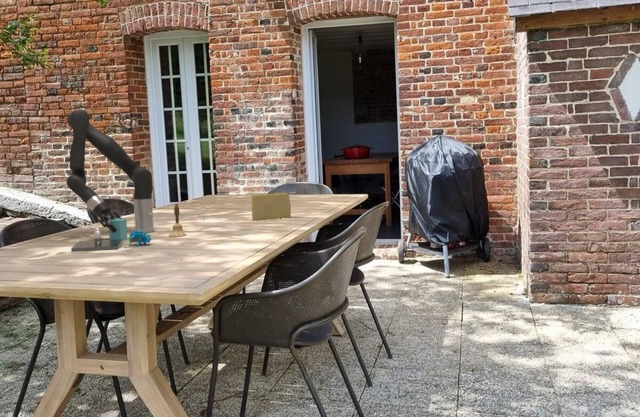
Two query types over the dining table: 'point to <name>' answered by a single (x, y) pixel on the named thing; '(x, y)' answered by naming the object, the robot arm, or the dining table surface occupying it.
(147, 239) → the blue spiky toy
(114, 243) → the mount plate
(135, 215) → the robot arm
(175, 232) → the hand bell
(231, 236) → the dining table surface
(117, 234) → the cap
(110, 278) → the dining table surface
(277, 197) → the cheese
